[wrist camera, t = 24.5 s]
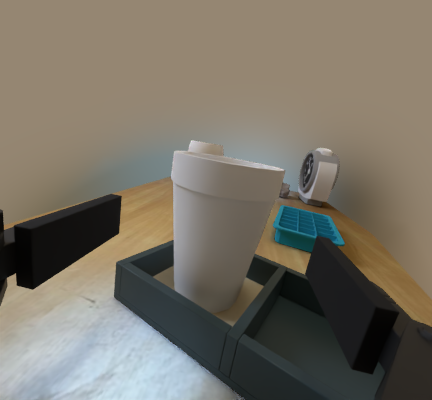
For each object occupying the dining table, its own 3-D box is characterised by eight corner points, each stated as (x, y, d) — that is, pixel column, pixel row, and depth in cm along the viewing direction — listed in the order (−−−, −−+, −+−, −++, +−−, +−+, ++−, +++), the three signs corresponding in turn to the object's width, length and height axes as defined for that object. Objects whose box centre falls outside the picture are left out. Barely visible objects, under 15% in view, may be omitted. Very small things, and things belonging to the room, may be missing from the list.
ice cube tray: (326, 227, 54) (330, 216, 54) (340, 263, 36) (346, 246, 35) (278, 215, 58) (281, 204, 57) (268, 241, 39) (272, 226, 39)
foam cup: (140, 278, 22) (153, 146, 19) (208, 257, 29) (226, 156, 26) (201, 348, 16) (235, 167, 13) (270, 300, 22) (304, 172, 19)
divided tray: (407, 358, 19) (423, 323, 18) (467, 572, 9) (510, 517, 8) (194, 254, 31) (198, 230, 30) (113, 297, 20) (116, 261, 19)
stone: (288, 199, 82) (292, 184, 81) (261, 194, 84) (265, 179, 83) (286, 195, 90) (290, 181, 89) (262, 190, 92) (265, 176, 91)
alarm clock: (292, 195, 94) (305, 146, 90) (313, 198, 94) (326, 150, 89) (305, 205, 77) (321, 146, 72) (329, 210, 76) (348, 150, 72)
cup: (176, 190, 66) (183, 138, 62) (190, 186, 76) (197, 141, 72) (210, 198, 63) (219, 145, 60) (220, 192, 73) (228, 146, 70)
